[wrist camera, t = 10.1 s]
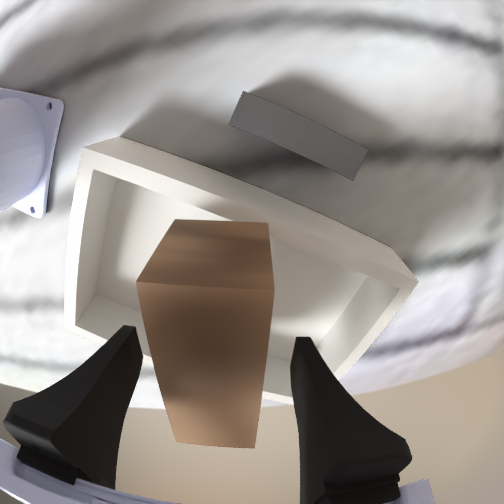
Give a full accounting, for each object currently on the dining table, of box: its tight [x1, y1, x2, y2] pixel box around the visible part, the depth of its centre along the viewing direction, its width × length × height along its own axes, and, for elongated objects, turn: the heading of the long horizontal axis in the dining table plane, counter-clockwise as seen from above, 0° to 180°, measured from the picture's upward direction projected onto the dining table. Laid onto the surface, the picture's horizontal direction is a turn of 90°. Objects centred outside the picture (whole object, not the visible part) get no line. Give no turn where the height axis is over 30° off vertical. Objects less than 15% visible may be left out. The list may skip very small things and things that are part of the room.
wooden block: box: [136, 219, 275, 448], centre depth 13 cm, size 4×10×5 cm, turn 177°
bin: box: [65, 137, 418, 405], centre depth 17 cm, size 18×12×4 cm, turn 67°
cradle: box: [229, 91, 368, 181], centre depth 11 cm, size 6×15×3 cm, turn 157°
